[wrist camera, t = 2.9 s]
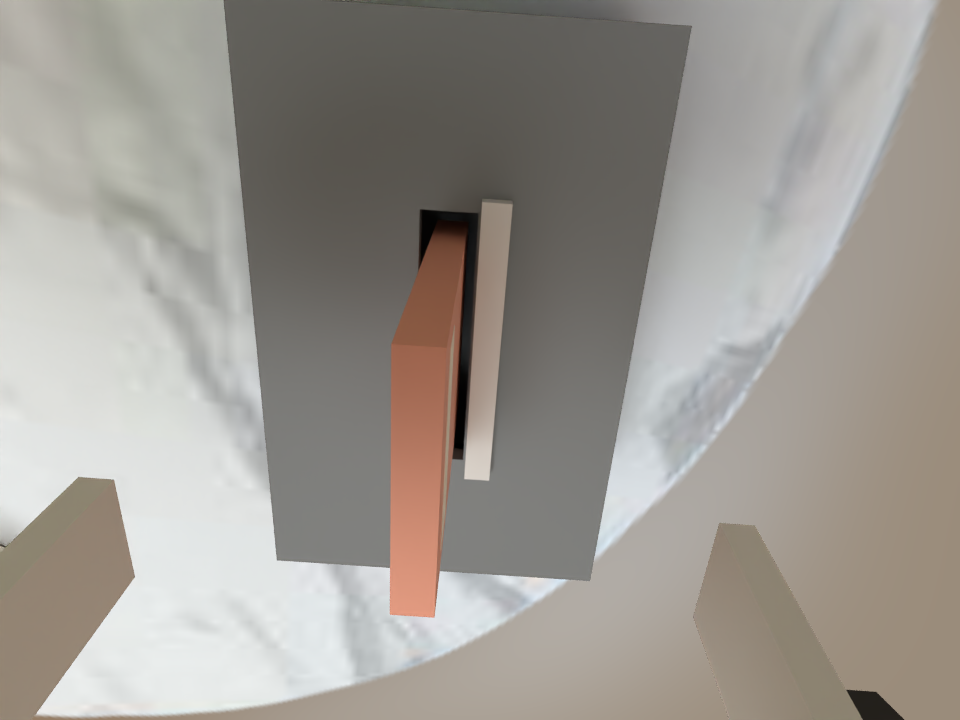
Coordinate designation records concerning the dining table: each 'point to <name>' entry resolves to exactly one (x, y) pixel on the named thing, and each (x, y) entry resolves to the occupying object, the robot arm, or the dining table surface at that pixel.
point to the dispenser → (489, 267)
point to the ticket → (425, 419)
